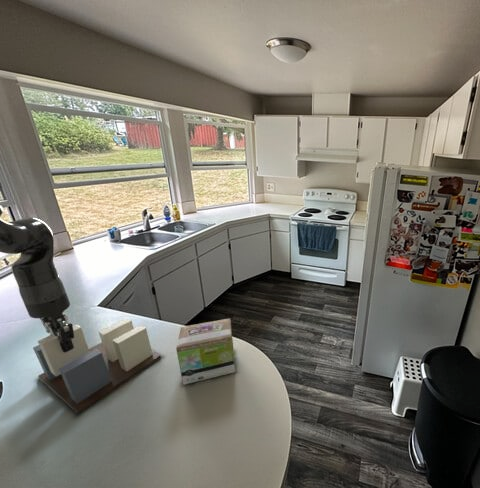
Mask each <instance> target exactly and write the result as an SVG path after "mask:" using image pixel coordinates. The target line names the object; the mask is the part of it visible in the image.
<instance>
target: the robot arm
mask: <svg viewBox="0 0 480 488" xmlns="http://www.w3.org/2000/svg"><path fill="white" fill-rule="evenodd" d="M3 213H4V209H3V207H2V205H0V253H2V254H7V255H18V254H20V256H19V257H18V258H17V259H15V260H14V261H13V263H12V264H11V267H10V268H11V271H12V275H13V277H14V280H15V282H16V284H17V286H18V293H19V296H20V298H21V300H22V302H23V305H24V307H25V309H26V311H27V314H28V316H29V318H32V319H39V321H40V322H41V323H42V325H43V327H44V329H45V332H46V333H47V334H49V336H50V335H54V336H56V337H57V340H58V342H59V344H60V346H61V349H62V351H63V352H68V351H70V350H72V349H73V348H74V346H73V343H72V340H71V339H72V338H74V332H73V325H74V324H72V323H71V322H69V321H68V320H69V318H68V315H67V314H66V313H64V312H65V311H66V310H68V309H69V308H70V306H71V302H70V300H69V297H68V294H67V291H66V288H65V286H64V283H63V281H62V279H61V278H60V276H59V273H58V270H57V268H56V267H57V266H56V265H55V262H54V256H55V247H54V246H55V245H54V243H55V242H54V241H55V240H54V235H53V231H52V229H51V228H50V226H48V224H47V223H46V222H44V221H42V220H41V219H38V218H35V217H24V218H20V219H16V220H13V221H9V222H6V221H4V220H3V219H1V216H3Z"/></svg>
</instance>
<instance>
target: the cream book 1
mask: <svg viewBox="0 0 480 488" xmlns="http://www.w3.org/2000/svg"><path fill="white" fill-rule="evenodd" d="M72 325H73V332H74V338H72V339H71V340H72V343H73V346H74V348H73V349H72V350H70V351H68V352H63V351H62V349H61V346H60V344H59V342H58V340H57V337H56V336H54V335H50V334H49V335H47V336H46V337H43V338H41V339H39V340H37V343H38V345H39V346H40V348H41V350H42V353H43V355H44V357H45V359H46V362H47V364H48V366H49V369H50V371H51V373H53V374H54V375H55V376H58V375H60V374H61V373H60V370H59V369H60V368H61V367H63V366H65V365H67V364H69V363H71V362H73V361H75V360H76V359H78V358H80V357H82V356H84V355H86V354H88V353H90V351H89V349H90V348H89V346H88V343H87V341H86V340H87V339H86V337H85V334H84V332H83V329H82V327H81V326H80V325H78V324H72Z"/></svg>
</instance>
